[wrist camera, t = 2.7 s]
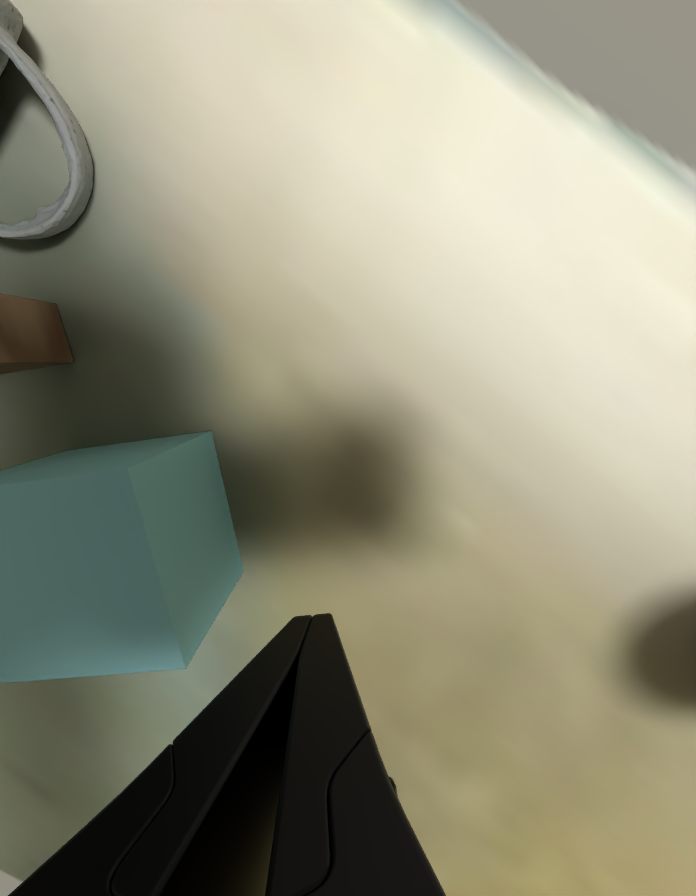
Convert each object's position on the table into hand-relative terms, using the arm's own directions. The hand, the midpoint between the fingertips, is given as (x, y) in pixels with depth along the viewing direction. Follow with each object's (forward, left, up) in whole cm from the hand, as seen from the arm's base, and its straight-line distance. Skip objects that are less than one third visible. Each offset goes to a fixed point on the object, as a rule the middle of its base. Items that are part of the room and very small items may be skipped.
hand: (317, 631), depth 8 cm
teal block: (0, +9, -9) cm, 13 cm away
